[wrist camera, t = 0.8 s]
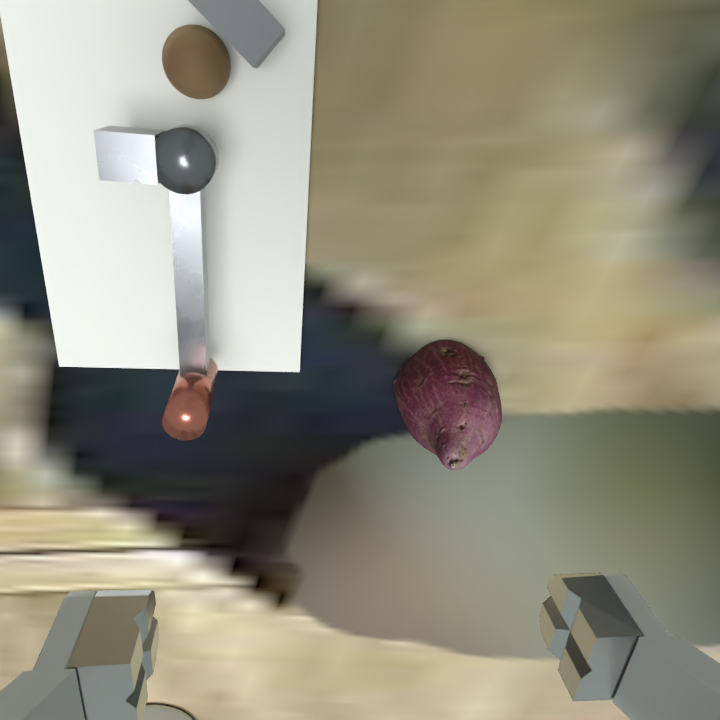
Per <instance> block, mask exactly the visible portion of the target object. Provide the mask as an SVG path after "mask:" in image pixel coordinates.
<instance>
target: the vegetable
mask: <svg viewBox="0 0 720 720" xmlns="http://www.w3.org/2000/svg"><path fill="white" fill-rule="evenodd" d="M393 383H394V386H393V387H394V395H395V399H396V403H397V406H398V409H399V411H400V413H401V416H402V418H403V421H404V422H405V424H406V426H407V428H408V430H409V432H410V434H411V435H412V436H413V438H414V439H415V440H416V441H417V442H418V443H420V444H421V445H422V446H423V447H424V448H426V449H427V450H429V451H431V452H432V453H434V454H435V455H437V456H438V458H439V459H440V461H441V462H442V464H443V465H444V466H445V467H446V468H448V469H450V470H459V469H462V468H463V467H465V466H466V465H467V464H468V463H469V462H470V461H472V460H473V459H474V458H476V457H477V456H479V455H481V454H482V453H484V452H485V451H486V450H487V449H488V448H489V446H490V445H491V444H492V443H493V441H494V440H495V438H496V436H497V434H498V431H499V429H500V426H501V422H502V409H501V401H500V396H499V392H498V387H497V382H496V379H495V377H494V375H493V373H492V371H491V370H490V368H489V367H488V365H487V364H486V362H485V361H484V357H481V356H479V355H478V354H477V353H475V352H474V351H473V350H472V349H470V348H469V347H467V346H465V345H463V344H462V343H460V342H456V341H451V340H440V341H436V342H433V343H431V344H428V345H427V346H425V347H424V348H422V349H421V350H419V351H418V352H417V353H416V354H415V355H414V356H413V357H412V358H411V359H410V360H409V361H408V362H407V363H406V364H405V365H404V366H403V367H402V368H401V369H400V370H399V372H398V374H397V376H396V378H395V379H394V381H393Z"/></svg>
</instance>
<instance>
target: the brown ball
mask: <svg viewBox="0 0 720 720" xmlns="http://www.w3.org/2000/svg"><path fill="white" fill-rule="evenodd" d="M162 64H163V68H164V71H165V74H166V76H167V78H168V80H169V81H170V83H171V84H172V85H173V87H174V88H176V89H177V90H178V91H179V92H180V93H182V94H183V95H185V96H187V97H190V98H193V99H208V98H212V97H214V96H216V95H217V94H219V93H220V92H221V91H222V90H223V89H224V87H225V86H226V84H227V82H228V80H229V77H230V72H231V61H230V56H229V53H228V50H227V48H226V46H225V44H224V43H223V41H222V40H221V39H220V38H219V37H218V35H216V34H215V33H214V32H213V31H211V30H210V29H208V28H206V27H203V26H200V25H194V24H189V25H184V26H181V27H178V28H177V29H175V30H174V31H173V32H171V33H170V35H169V36H168V37H167V39H166V41H165V43H164V46H163V50H162Z"/></svg>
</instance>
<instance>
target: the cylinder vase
mask: <svg viewBox="0 0 720 720" xmlns="http://www.w3.org/2000/svg"><path fill="white" fill-rule="evenodd" d="M143 720H193V719H192V718H191V717H190V716H189V715H188V714H186V713H185V712H183V711H181V710H179V709H176V708H173V707H169V706H164V705H146V707H145V711H144V715H143Z"/></svg>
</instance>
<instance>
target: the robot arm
mask: <svg viewBox="0 0 720 720" xmlns="http://www.w3.org/2000/svg"><path fill="white" fill-rule="evenodd" d="M547 589H548V591H549V593H550V594H551V596H550V597H549V598H548V599H547V600H545V602H543V603H542V607H541V611H540V629H541V632H542V636H543V640H544V642H545V644H546V646H547V648H548V650H549V651H550V652H551V653H552V654H553V655H555V656H556V657H557V658H558V659H560V664H559V668H558V671H559V673H560V675H561V678H562V680H563V682H564V684H565V686H566V688H567V690H568V692H569V694H570V696H571V698H572V700H573V701H593V700H613V703H614V704H615V705H616V706H617V707H618V708H619V709H620V710H621V711H623V712H624V713H625V714H626V715H627V716H628V717H629V718H630V719H631V720H720V663H718V662H717V661H715V660H714V659H712V658H711V657H709V656H708V655H706V654H705V653H703V652H701V651H700V650H698V649H697V648H695V647H694V646H692V645H691V644H689V643H688V642H686V641H685V640H683V639H682V638H680V637H678V636H677V635H669V633H668V632H667V631H666V629H665V628H664V627H663V625H662V624H661V622H660V621H659V620H658V618H657V617H656V616H655V614H654V613H653V611H652V610H651V609H650V607H649V606H648V604H647V603H646V602H645V600H644V599H643V598H642V596H641V595H640V593H639V592H638V591H637V589H636V588H635V587H634V585H633V584H632V582H631V581H630V580H629V579H628V577H627V576H626V575H625V574H623V573H622V572H599V573H575V574H555V575H553V576H552V577H551V578H550V580H549V583H548V587H547ZM155 606H156V600H155V593H154V591H153V590H116V591H74V592H70V593H69V594H68V595H67V596H66V597H65V598H64V600H63V602H62V605H61V607H60V609H59V611H58V614H57V616H56V618H55V621H54V623H53V625H52V627H51V630H50V632H49V634H48V636H47V639H46V641H45V643H44V646H43V648H42V650H41V652H40V655H39V657H38V659H37V661H36V664H35V666H34V668H33V671H24V672H22V673H21V674H20V675H19V676H18V677H16V678H15V679H14V680H13V681H12V682H11V683H9V684H8V685H7V686H6V687H5V688H4V689H2V690H1V691H0V720H143V715H144V711H145V707H146V703H147V698H148V693H147V683H146V680H147V679H148V678H149V677H150V676H151V675H152V674H153V672H154V667H155V662H156V656H157V648H158V620H156V619H155V618H154V617H153V614H154V610H155Z"/></svg>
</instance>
